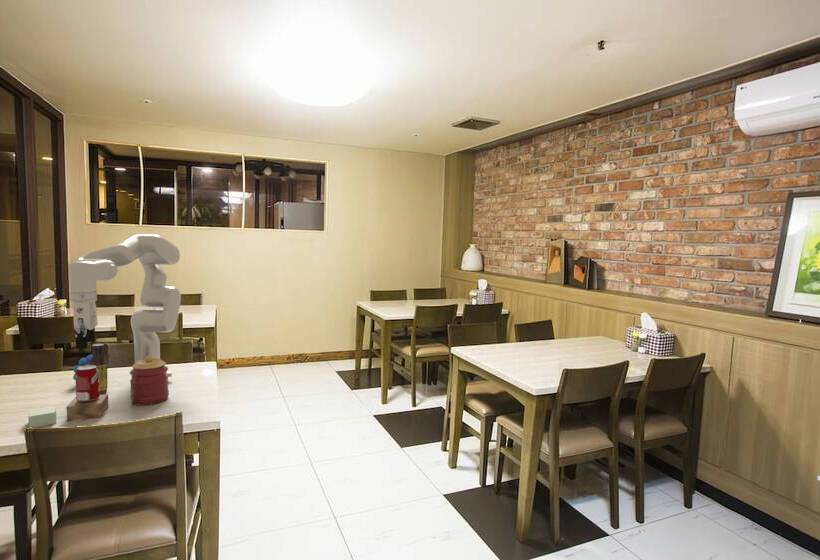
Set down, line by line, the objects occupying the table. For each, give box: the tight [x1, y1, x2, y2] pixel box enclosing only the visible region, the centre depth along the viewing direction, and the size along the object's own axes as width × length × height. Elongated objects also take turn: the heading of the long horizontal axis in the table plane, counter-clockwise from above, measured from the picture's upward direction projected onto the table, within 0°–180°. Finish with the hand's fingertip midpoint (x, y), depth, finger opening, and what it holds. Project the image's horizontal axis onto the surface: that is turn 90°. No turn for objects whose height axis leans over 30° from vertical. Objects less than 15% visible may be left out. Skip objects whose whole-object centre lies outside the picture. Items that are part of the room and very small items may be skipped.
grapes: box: [72, 354, 92, 381], centre depth 195 cm, size 12×7×12 cm, turn 156°
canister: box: [129, 355, 170, 406], centre depth 177 cm, size 13×13×18 cm
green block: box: [27, 405, 57, 429], centre depth 154 cm, size 7×7×4 cm
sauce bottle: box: [89, 343, 108, 395], centre depth 182 cm, size 7×6×20 cm
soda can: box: [74, 365, 100, 402], centre depth 162 cm, size 7×7×12 cm
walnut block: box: [66, 393, 109, 422], centre depth 162 cm, size 10×10×5 cm
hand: (86, 345), depth 160 cm, fingers open, 9 cm apart
